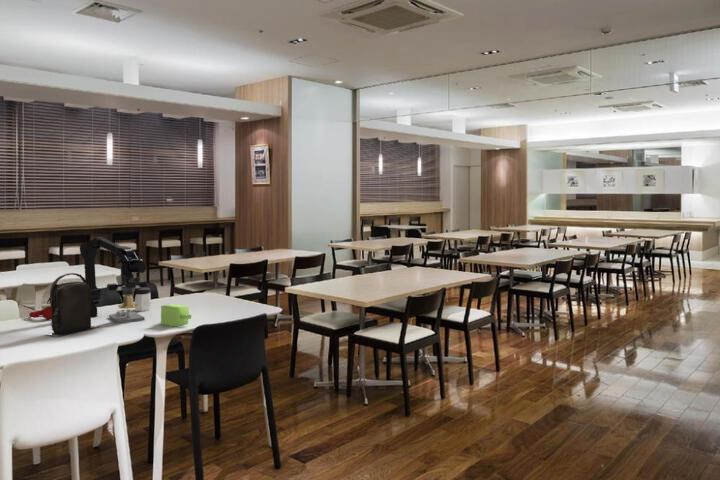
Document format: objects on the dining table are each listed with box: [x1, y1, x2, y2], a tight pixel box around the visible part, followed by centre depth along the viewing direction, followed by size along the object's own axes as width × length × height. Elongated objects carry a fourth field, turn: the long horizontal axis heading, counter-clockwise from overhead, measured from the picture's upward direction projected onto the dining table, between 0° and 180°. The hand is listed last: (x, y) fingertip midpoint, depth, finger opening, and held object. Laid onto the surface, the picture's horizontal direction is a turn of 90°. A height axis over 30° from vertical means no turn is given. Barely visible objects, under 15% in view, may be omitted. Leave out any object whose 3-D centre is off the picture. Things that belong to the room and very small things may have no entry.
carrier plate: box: [108, 308, 146, 325], centre depth 300 cm, size 13×18×6 cm
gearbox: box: [160, 303, 192, 327], centre depth 288 cm, size 18×10×10 cm, turn 59°
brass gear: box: [117, 294, 138, 310], centre depth 297 cm, size 9×9×6 cm
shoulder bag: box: [46, 272, 101, 338], centre depth 274 cm, size 23×9×28 cm, turn 148°
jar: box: [134, 287, 152, 312], centre depth 324 cm, size 9×8×12 cm
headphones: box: [28, 305, 51, 321], centre depth 307 cm, size 15×7×20 cm
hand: (127, 302), depth 297 cm, fingers closed on brass gear, 5 cm apart
